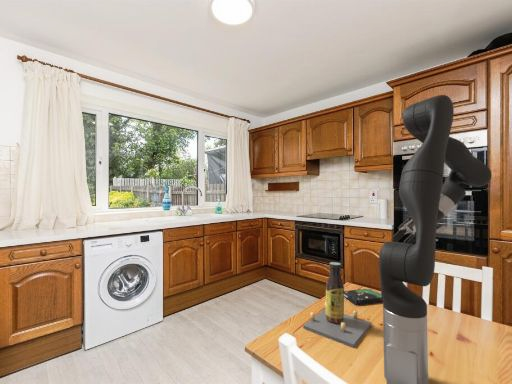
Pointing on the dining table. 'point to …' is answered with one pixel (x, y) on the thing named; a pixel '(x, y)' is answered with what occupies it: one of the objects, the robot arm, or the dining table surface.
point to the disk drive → (363, 296)
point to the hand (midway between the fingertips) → (399, 242)
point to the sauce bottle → (334, 294)
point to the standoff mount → (339, 328)
